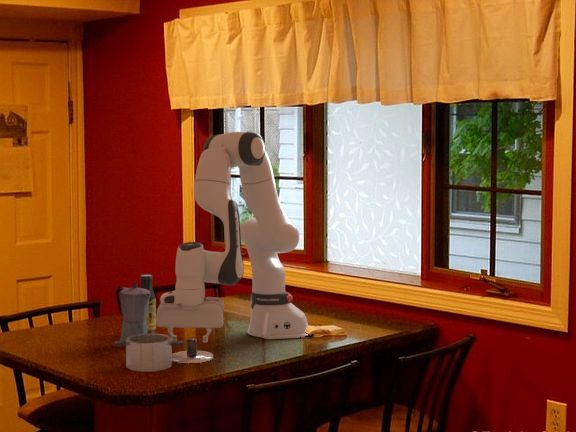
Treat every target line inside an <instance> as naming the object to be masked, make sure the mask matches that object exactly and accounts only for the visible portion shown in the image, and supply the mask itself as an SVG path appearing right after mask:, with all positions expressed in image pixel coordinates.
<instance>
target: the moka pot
mask: <svg viewBox="0 0 576 432" xmlns="http://www.w3.org/2000/svg"><path fill="white" fill-rule="evenodd" d="M138 285H139V283H138V282H134V283H132V286H133V287H129V288H128V287H126V286H125V287H123V286H121V285H119V286H118V288H117V289H116V290H115V299H116V303H117V307H118V312H119V314H120V315H121V316H123V317H122V318H123V321H122V326H121V332H120V339H119V341H126V339H127V337H130V336H133V335H139V334H147V328H146V321H145V320H146V314H147V312H148V305H149V298H150V296H151V295H150V291H149V290H147V289H143V288H141V287H138Z"/></svg>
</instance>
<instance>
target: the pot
mask: <svg viewBox="0 0 576 432" xmlns="http://www.w3.org/2000/svg"><path fill="white" fill-rule="evenodd" d="M184 344H185V341H184V340H177V341H172V337H171V336H170V335H169V334H163V333H162V334H161V333H154V334H139V335H133V336H130V337H127V339H126V341H120V340H119V341H118V340H116V341H114V343H113V347H114V348H115V347H117V348H118V347H120V348H121V347H123V348H124V347H125V362H126V363H125V366H126V368H127V369H129V370H131V371H135V372H158V371H164V370H167V369H170V368H171V367H172V365H173V361H172V354H173V347H184Z"/></svg>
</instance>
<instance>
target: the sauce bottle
mask: <svg viewBox="0 0 576 432" xmlns="http://www.w3.org/2000/svg"><path fill="white" fill-rule="evenodd" d="M139 278H140V288H143V289H147V290H149V291H150V295H151V296H150V298H149V305H148V312H147V314H146V320H145V321H146V328H147V334H156V329H157V325H156V315H157V308H156V307H157V298H156V296H155V292H154V290H153V275H152V274H141V275H140V277H139Z"/></svg>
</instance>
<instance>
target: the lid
mask: <svg viewBox="0 0 576 432" xmlns="http://www.w3.org/2000/svg"><path fill="white" fill-rule="evenodd" d="M197 346H198V339H197V338H193V337H191V338H186V350H182V351H181V350H180V351H177V352H174V353H173V352H172V363H175V362H177V363H176V364H181V363H188V364H187V365H190V364H189V363H200V364H203V363H202V362H206V361H209V362H211V361H213V360H214V354H213V353H212V352H210V351H206V350H198V347H197ZM212 359H213V360H212ZM210 360H211V361H210ZM206 363H207V362H206Z"/></svg>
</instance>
